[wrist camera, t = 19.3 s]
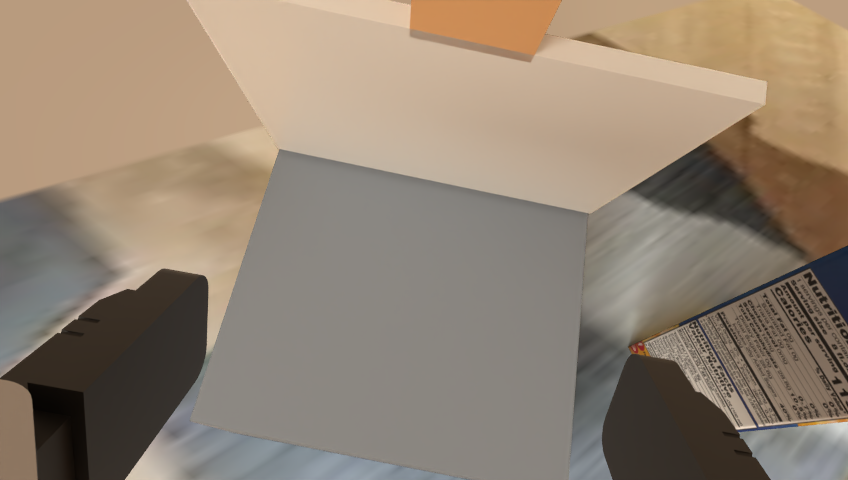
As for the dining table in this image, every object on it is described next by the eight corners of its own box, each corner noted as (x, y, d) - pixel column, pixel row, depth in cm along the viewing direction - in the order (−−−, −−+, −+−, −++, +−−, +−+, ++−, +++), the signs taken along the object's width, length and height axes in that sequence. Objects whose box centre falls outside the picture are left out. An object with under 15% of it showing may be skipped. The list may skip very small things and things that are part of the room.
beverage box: (626, 347, 41) (876, 232, 21) (745, 298, 44) (1071, 152, 24) (673, 438, 39) (1002, 407, 19) (796, 381, 42) (1202, 299, 21)
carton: (233, 432, 37) (189, 420, 27) (298, 215, 43) (280, 146, 34) (517, 488, 37) (567, 495, 28) (540, 265, 43) (588, 210, 34)
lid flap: (29, -257, 11) (68, -357, 11) (277, 148, 33) (287, 111, 34) (1001, -43, 11) (1002, -147, 11) (590, 213, 34) (595, 175, 34)
